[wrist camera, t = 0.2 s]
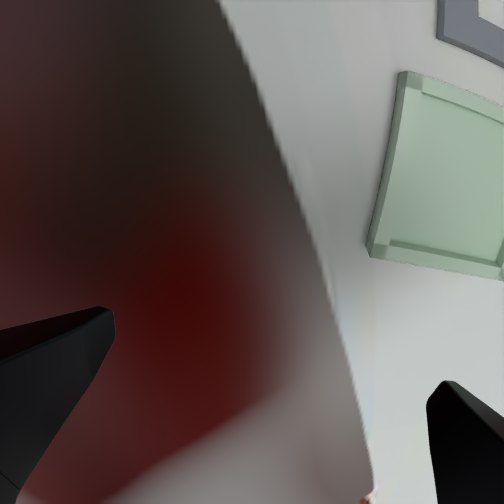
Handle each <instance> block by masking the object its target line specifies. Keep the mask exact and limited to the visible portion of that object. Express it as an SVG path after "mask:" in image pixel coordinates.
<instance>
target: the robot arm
mask: <svg viewBox="0 0 504 504" xmlns="http://www.w3.org/2000/svg"><path fill="white" fill-rule="evenodd" d="M115 333H116V332H115V324H114V314H113V311H112V310H111V309H108V308H105V307H102V306H95V307H91V308H88V309H83V310H79V311H75V312H71V313H67V314H63V315H59V316H55V317H51V318H47V319H43V320H39V321H35V322H30V323H26V324H23V325H18V326H14V327H10V328H6V329H2V330H0V504H15V503H16V499H17V497H18V494H19V493H20V490H21V489H22V488H23V486H24V484H25V483H26V481H27V480H28V478H29V476H30V474H31V473H32V471H33V470H34V468H35V467H36V465H37V464H38V462H39V460H40V459H41V457H42V456H43V454H44V453H45V451H46V449H47V448H48V446H49V445H50V443H51V442H52V440H53V439H54V437H55V435H56V434H57V433H58V431H59V430H60V428H61V427H62V425H63V424H64V422H65V421H66V419H67V418H68V416H69V415H70V413H71V412H72V410H73V409H74V407H75V406H76V405H77V403H78V402H79V400H80V398H81V397H82V396H83V394H84V393H85V391H86V390H87V389H88V387H89V386H90V384H91V382H92V381H93V379H94V378H95V376H96V374H97V372H98V370H99V368H100V367H101V365H102V363H103V361H104V359H105V357H106V355H107V354H108V352H109V350H110V348H111V346H112V344H113V342H114V340H115V335H116V334H115ZM426 413H427V423H428V435H429V446H430V454H431V460H432V466H433V472H434V479H435V486H436V493H437V501H438V504H504V417H502V416H501V415H500V414H498V413H497V412H496V411H494V410H493V409H492V408H490V407H489V406H488V405H486V404H485V403H483V402H482V401H481V400H479V399H478V398H477V397H475V396H474V395H473V394H471V393H470V392H469V391H467V390H466V389H465V388H463V387H462V386H461V385H459V384H458V383H456V382H454V381H446V380H445V381H442V382H441V383H440V384H439V385H438V387H437V388H436V389H435V391H434V392H433V393H432V394H431V396H430V397H429V398H428V400H427V404H426Z"/></svg>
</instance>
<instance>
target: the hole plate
mask: <svg viewBox="0 0 504 504" xmlns="http://www.w3.org/2000/svg"><path fill="white" fill-rule="evenodd" d="M437 39H439V40H442V41H445V42H447V43H450V44H452V45H455V46H457V47H460V48H462V49H465V50H467V51H469V52H472V53H474V54H476V55H478V56H480V57H483V58H485V59H487V60H489V61H491V62H493V63H495V64H497V65H499V66H501V67H503V68H504V29H502V28H500V27H498V26H496V25H494V24H492V23H490V22H488V21H486V20H484V19H482V18H480V17H478V0H438V21H437Z"/></svg>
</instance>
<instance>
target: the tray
mask: <svg viewBox="0 0 504 504" xmlns="http://www.w3.org/2000/svg"><path fill="white" fill-rule="evenodd" d="M366 248H367V251H368V253H369V256H370V257H371V258H377V259H383V260H389V261H395V262H400V263H406V264H412V265H417V266H423V267H429V268H434V269H440V270H445V271H451V272H456V273H462V274H467V275H473V276H478V277H483V278H489V279H494V280H499V281H504V107H502V106H500V105H498V104H496V103H494V102H492V101H489V100H487V99H485V98H483V97H480V96H478V95H476V94H473V93H471V92H468V91H466V90H463V89H461V88H458V87H456V86H453V85H450V84H447V83H445V82H442V81H439V80H436V79H433V78H430V77H427V76H424V75H421V74H418V73H415V72H411V71H404V72H401V73H399V77H398V85H397V93H396V100H395V107H394V113H393V119H392V126H391V131H390V137H389V143H388V148H387V153H386V159H385V164H384V169H383V173H382V178H381V183H380V187H379V192H378V196H377V201H376V205H375V209H374V213H373V218H372V222H371V226H370V230H369V233H368V237H367V241H366Z"/></svg>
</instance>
